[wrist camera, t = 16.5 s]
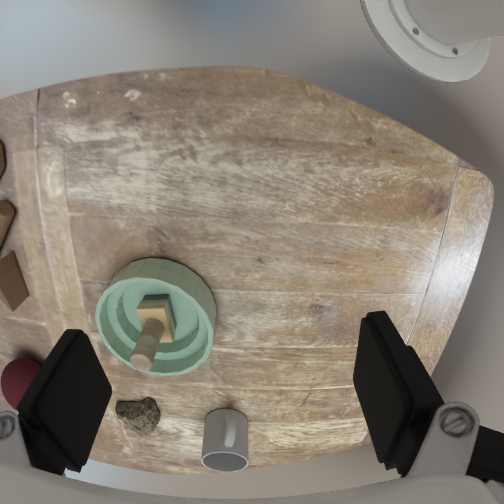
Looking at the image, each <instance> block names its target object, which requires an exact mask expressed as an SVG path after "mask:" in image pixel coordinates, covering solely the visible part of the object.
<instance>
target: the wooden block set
mask: <svg viewBox="0 0 504 504" xmlns="http://www.w3.org/2000/svg"><path fill="white" fill-rule="evenodd" d="M3 169H4V157H3V146H2V144H1V142H0V176H1V174H2V171H3ZM13 216H14V209H13V207H12V206H11V205H10V204H9V203H8V202H6V201H0V247H1V245H2V242H3V239H4V237H5V234H6V232H7V230H8V227H9V225H10V222H11V220H12V218H13ZM28 296H29V293H28V291H27V288H26V285H25V283H24V280H23V277H22V274H21V271H20V268H19V265H18V262H17V259H16V256H15V253H14V251H13V252H11V253H10V254H8V255H7V256H6V257H4V258H3V259H2V260H0V299H1V300H2V301H3V302H4V303H5V304H6V305H7V306H8V307H9V308H10V309H11V310H12V311H14V310H15V309H16V308H17V307H18V306H19V305H20V304H21V303H22V302H23V301H24V300H25V299H26V298H27V297H28Z"/></svg>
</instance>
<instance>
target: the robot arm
mask: <svg viewBox="0 0 504 504" xmlns="http://www.w3.org/2000/svg"><path fill="white" fill-rule="evenodd" d="M388 1H389V5H390V8H391V11H392V13H393V15H394V17H395V19H396V21H397V22H398V24H399V25H400V27H401V28H402V30H403V31H404V32H405V33H406V34H407V35H408V36H409V38H410V39H411V40H413V41H414V42H415V43H416V44H417V45H418V46H420V47H421V48H423V49H424V50H426V51H427V52H429V53H431V54H433V55H435V56H439V57H442V58H451V59H452V58H459V57H462V56H465V55H467V54H468V53H470V52H471V51H472V50H473V49H474V47H475V45H476V43H477V41H478V40H480V39H486V38H491V37H497V36H502V35H504V0H388ZM353 382H354V387H355V390H356V393H357V396H358V399H359V402H360V405H361V408H362V411H363V414H364V417H365V420H366V423H367V426H368V429H369V433H370V436H371V439H372V442H373V446H374V449H375V452H376V455H377V459H378V461H379V462H380V463H384V464H385V468H386V470H389V469H393V468H397V472H398V474H400V475H401V476H400V478H399V479H394V480H390V481H385V482H379V483H374V484H369V485H364V486H360V487H354V488H349V489H343V490H336V491H330V492H323V493H315V494H307V495H298V496H288V497H276V498H258V499H204V498H186V497H174V496H164V495H155V494H146V493H139V492H133V491H126V490H121V489H115V488H110V487H105V486H100V485H96V484H91V483H87V482H83V481H79V480H75V479H71V478H67V477H66V475H65V473H64V471H65V468H67V469H68V470H71V471H75V472H79V473H80V471H81V468H82V466H84V465H85V464H86V462H87V460H88V457H89V454H90V451H91V448H92V445H93V443H94V440H95V437H96V434H97V432H98V429H99V426H100V424H101V421H102V418H103V416H104V413H105V411H106V408H107V405H108V403H109V400H110V398H111V395H112V387H111V385H110V383H109V381H108V379H107V377H106V375H105V372H104V370H103V368H102V366H101V364H100V362H99V360H98V358H97V355H96V353H95V351H94V349H93V347H92V344H91V342H90V340H89V337H88V335H87V334H84V332H83V331H82V330H80V329H67V330H66V331H65V332H64V333H63V335H62V336H61V338H60V339H59V341H58V342H57V343H56V345H55V346H54V348H53V349H52V351H51V352H50V354H49V355H48V357H47V358H46V360H45V361H44V363H43V365H42V366H41V368H40V369H39V371H38V372H37V374H36V375H35V377H34V379H33V380H32V382H31V383H30V385H29V387H28V388H27V390H26V392H25V393H24V395H23V397H22V398H21V400H20V402H19V403H18V405H17V407H16V409H17V410H18V412H19V414H18V416H17V415H16V414H15V413H13V412H11V411H4V412H0V504H504V433H501V432H498V431H495V430H492V429H489V428H486V427H483V426H480V425H479V418H478V414H477V413H476V412H475V410H474V409H473V408H472V407H470V406H469V405H467V404H465V403H462V402H456V401H455V402H448V403H446V404H445V403H444V401H443V399H442V397H441V396H440V394H439V392H438V390H437V389H436V387H435V385H434V383H433V381H432V379H431V378H430V376H429V374H428V372H427V371H426V369H425V367H424V365H423V364H422V362H421V360H420V359H419V357H418V355H417V354H416V352H415V350H414V349H413V348H412V346H409V345H408V346H406V344H405V343H404V341H403V339H402V338H401V336H400V334H399V333H398V331H397V329H396V328H395V326H394V324H393V323H392V321H391V319H390V318H389V316H388V314H387V313H386V312H385V311H384V310H383V311H376V312H369V313H367V315H366V317H365V318H362V320H361V326H360V334H359V341H358V348H357V355H356V361H355V367H354V373H353Z"/></svg>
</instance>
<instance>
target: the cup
mask: <svg viewBox="0 0 504 504" xmlns="http://www.w3.org/2000/svg"><path fill="white" fill-rule="evenodd" d="M201 462H202V464H203V465H204V466H205V467H207V468H209V469H211V470H214V471H219V472H235V471H240V470H242V469H244V468H246V467H247V466H248V421H247V418H246V417H245V416H244V415H243V414H242V413H241V412H239V411H237V410H233V409H225V408H224V409H217V410H214V411H212V412H211V413H209V414H208V415H207V417H206V420H205V428H204V437H203V447H202V457H201Z"/></svg>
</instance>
